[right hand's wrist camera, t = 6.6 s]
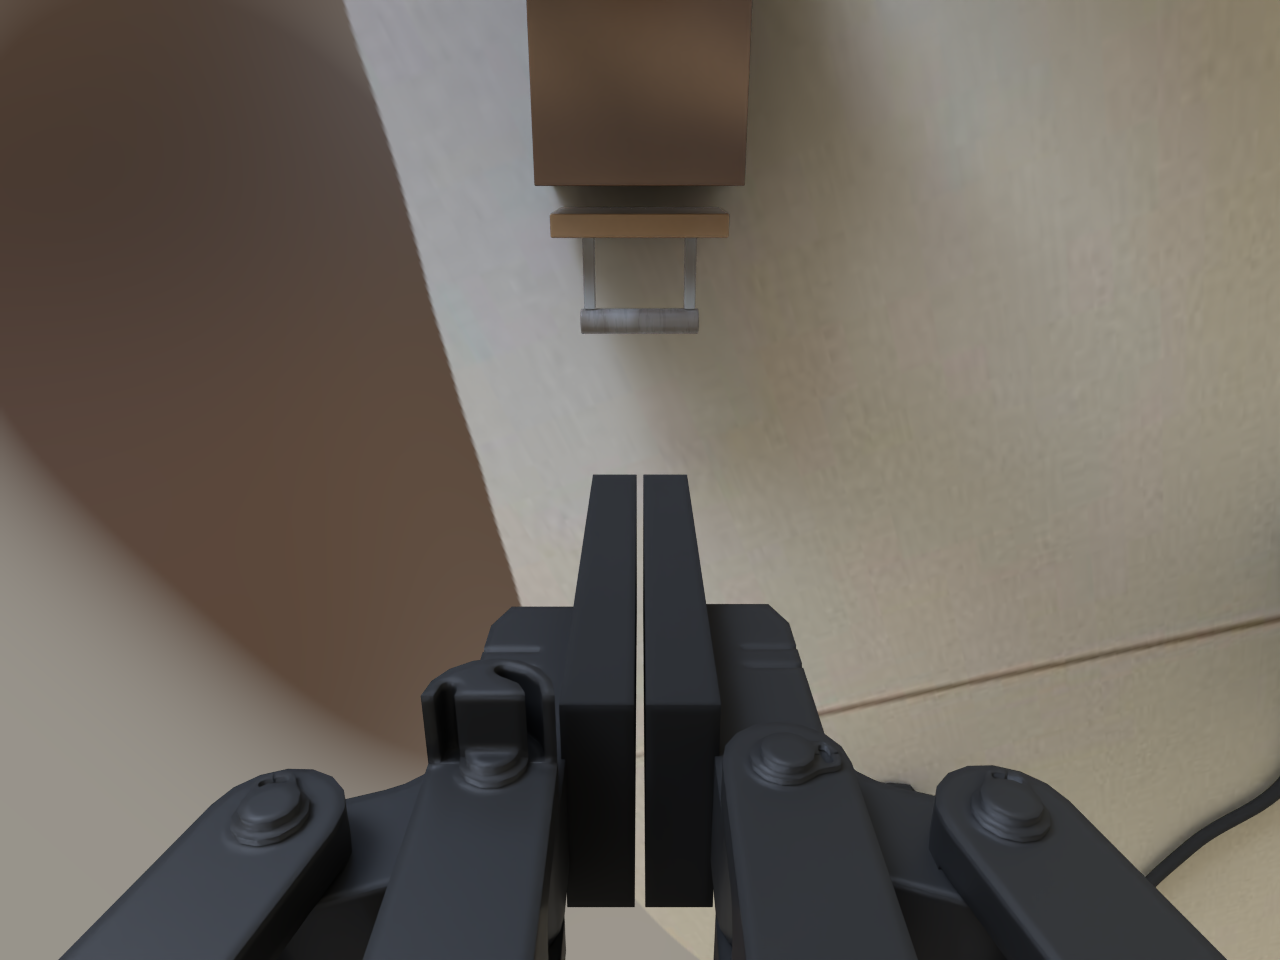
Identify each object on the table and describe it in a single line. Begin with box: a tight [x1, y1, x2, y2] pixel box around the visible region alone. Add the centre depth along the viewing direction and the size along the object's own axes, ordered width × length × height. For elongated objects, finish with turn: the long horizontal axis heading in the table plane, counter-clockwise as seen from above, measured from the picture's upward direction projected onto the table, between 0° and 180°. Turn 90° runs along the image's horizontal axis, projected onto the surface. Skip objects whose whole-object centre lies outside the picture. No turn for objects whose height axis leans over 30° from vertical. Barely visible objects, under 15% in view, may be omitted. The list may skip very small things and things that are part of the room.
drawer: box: [550, 207, 729, 334], centre depth 44 cm, size 23×9×6 cm, turn 0°
